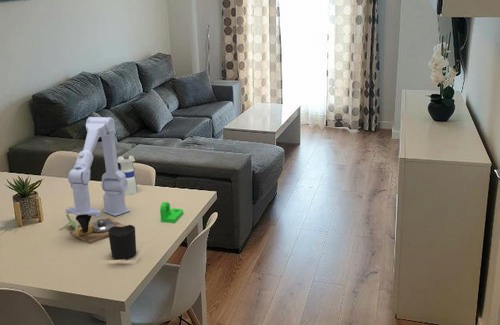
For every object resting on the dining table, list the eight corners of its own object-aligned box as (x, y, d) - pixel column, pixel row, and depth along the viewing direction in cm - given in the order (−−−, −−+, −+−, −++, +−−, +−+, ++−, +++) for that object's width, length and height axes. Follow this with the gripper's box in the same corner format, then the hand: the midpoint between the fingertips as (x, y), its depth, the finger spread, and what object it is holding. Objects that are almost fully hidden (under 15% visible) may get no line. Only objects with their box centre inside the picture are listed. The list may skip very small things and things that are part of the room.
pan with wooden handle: (105, 220, 229) (104, 214, 228) (119, 226, 222) (118, 219, 221) (70, 232, 218) (69, 225, 217) (83, 239, 211) (82, 232, 210)
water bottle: (119, 194, 265) (114, 144, 258) (137, 192, 267) (133, 142, 260) (120, 200, 257) (115, 148, 250) (138, 198, 259) (134, 146, 252)
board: (69, 233, 220) (68, 224, 219) (108, 220, 233) (107, 211, 232) (90, 243, 210) (89, 234, 209) (129, 229, 223) (128, 220, 222)
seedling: (67, 239, 227) (80, 229, 228) (60, 236, 219) (74, 225, 220) (58, 225, 229) (71, 215, 230) (50, 222, 221) (64, 212, 222)
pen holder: (123, 247, 206) (121, 222, 204) (142, 252, 202) (140, 227, 199) (105, 257, 199) (102, 231, 196) (124, 262, 194) (122, 236, 191)
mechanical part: (174, 223, 228) (173, 205, 226) (161, 222, 230) (159, 204, 227) (185, 213, 239) (184, 196, 237) (172, 212, 241) (171, 195, 238)
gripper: (59, 200, 209) (63, 234, 213) (92, 204, 205) (95, 238, 209) (70, 195, 216) (74, 227, 220) (102, 198, 211) (106, 230, 215)
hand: (85, 232), depth 214 cm, fingers closed
